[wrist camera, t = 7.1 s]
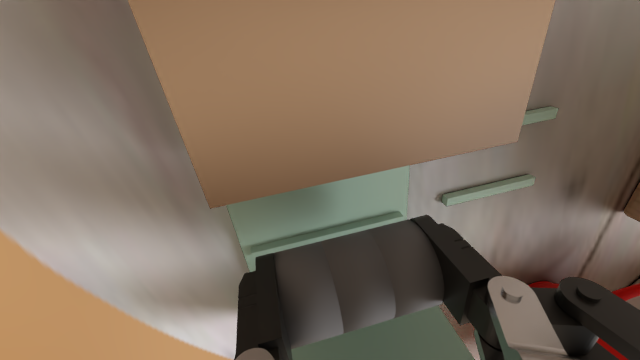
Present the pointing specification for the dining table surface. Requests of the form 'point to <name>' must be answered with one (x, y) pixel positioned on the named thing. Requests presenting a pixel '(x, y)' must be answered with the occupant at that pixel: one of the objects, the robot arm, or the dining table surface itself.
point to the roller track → (337, 220)
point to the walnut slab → (338, 84)
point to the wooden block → (634, 205)
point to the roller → (356, 281)
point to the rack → (503, 185)
